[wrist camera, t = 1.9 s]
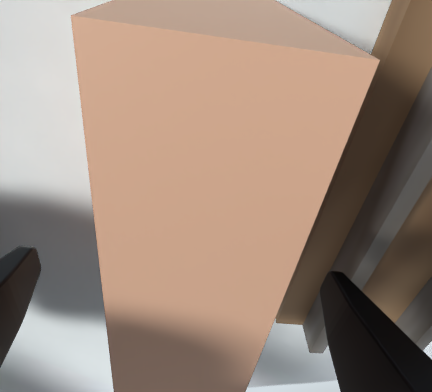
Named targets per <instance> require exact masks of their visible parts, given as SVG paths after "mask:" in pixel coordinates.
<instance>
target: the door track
mask: <svg viewBox="0 0 432 392" xmlns="http://www.w3.org/2000/svg"><path fill="white" fill-rule="evenodd" d="M371 55H372V56H374V57H375V58H377V59H379V60H380V61H379V64H378V66H377V69H376V71H375V74H374V76H373V79H372V81H371V84H370V86H369V88H368V91H367V93H366V96H365V98H364V101H363V103H362V106H361V108H360V111H359V113H358V116H357V118H356V120H355V123H354V125H353V128H352V130H351V133H350V135H349V138H348V140H347V143H346V145H345V148H344V150H343V152H342V155H341V157H340V160H339V162H338V165H337V167H336V170H335V172H334V175H333V177H332V180H331V182H330V184H329V187H328V189H327V192H326V194H325V197H324V199H323V202H322V204H321V207H320V209H319V212H318V214H317V216H316V219H315V221H314V224H313V226H312V229H311V231H310V234H309V236H308V239H307V241H306V244H305V246H304V248H303V251H302V253H301V256H300V258H299V261H298V263H297V266H296V268H295V271H294V273H293V276H292V278H291V280H290V283H289V285H288V288H287V290H286V293H285V295H284V298H283V300H282V303H281V305H280V308H279V310H278V312H277V315H276V317H275V318H276V323H284V324H298V325H303V329H304V333H305V336H306V340H307V344H308V348H309V352H310V353H323V352H324V350H325V349H326V347H327V345H328V342H327V337H326V331H325V325H324V318H323V311H322V305H321V298H320V287H321V285H322V283H323V281H324V279H325V277H326V275H327V273H328V272H329V271H340V272H343V273H344V274H345V275H346V276H347V277H348V278H349V279H350V280H351V281H352V282H353V283H354V284H355V285H356V286H357V287H358V288H359V289H360V290H361V291H362V292H363V293H364V294H365V295H366V296H367V297H368V298H370V299H371V300H372V301H373V302H374V303H375V304H376V305H377V306H378V307H379V308H380V309H381V310H382V311H383V312H384V313H385V314H386V315H387V316H388V317H389V318H390V319H391V320H392V321H393V322H394V323H395V324H396V325H397V326H398V327H399V328H400V329H401V330H402V331H403V332H404V333H405V334H406V335H407V336H408V337H409V338H410V339H411V340H412V341H413V342H414V343H415V344H416V345H417V346H418V347H419V348H420V349H421V350H422V351H423V350H424V349H425V347H426V346H427V345H428V344H429V343H430V342H431V341H432V0H392V2H391V4H390V7H389V9H388V12H387V14H386V17H385V20H384V22H383V25H382V27H381V30H380V33H379V35H378V38H377V40H376V43H375V45H374V48H373V51H372V53H371Z"/></svg>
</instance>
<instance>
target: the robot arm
mask: <svg viewBox="0 0 432 392" xmlns="http://www.w3.org/2000/svg"><path fill="white" fill-rule="evenodd" d="M40 271H41V264H40V260H39V257H38V253H37V250H36V248H35V247H31V246H19V247H17V248H16V249H14V250H13V251H11V252H10V253H8V254H7V255H5V256H4V257H2V258H1V259H0V368H1V365H2V363H3V361H4V359H5V357H6V355H7V353H8V351H9V349H10V347H11V345H12V343H13V341H14V339H15V337H16V335H17V333H18V331H19V328H20V326H21V324H22V322H23V319H24V317H25V314H26V311H27V309H28V306H29V303H30V300H31V297H32V295H33V292H34V289H35V286H36V283H37V280H38V278H39V275H40ZM320 298H321V305H322V311H323V318H324V325H325V331H326V337H327V342H328V346H329V350H330V353H331V357H332V361H333V365H334V368H335V372H336V376H337V380H338V383H339V387H340V391H341V392H432V359H431V358H429V357H428V356H427V355H426V354H425V353H424V352H423V351H422V350H421V349H420V348H419V347H418V346H417V345H416V344H415V343H414V342H413V341H412V340H411V339H410V338H409V337H408V336H407V335H406V334H405V333H404V332H403V331H402V330H401V329H400V328H399V327H398V326H397V325H396V324H395V323H394V322H393V321H392V320H391V319H390V318H389V317H388V316H387V315H386V314H385V313H384V312H383V311H382V310H381V309H380V308H379V307H378V306H377V305H376V304H375V303H374V302H373V301H372V300H371V299H370V298H368V297H367V296H366V295H365V294H364V293H363V292H362V291H361V290H360V289H359V288H358V287H357V286H356V285H355V284H354V283H353V282H352V281H351V280H350V279H349V278H348V277H347V276H346V275H345V274H344V273H343V272H340V271H329V272H328V273H327V275H326V277H325V279H324V281H323V283H322V285H321V287H320Z"/></svg>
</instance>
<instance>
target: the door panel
mask: <svg viewBox="0 0 432 392" xmlns="http://www.w3.org/2000/svg"><path fill="white" fill-rule="evenodd" d="M71 21H72V30H73V38H74V47H75V56H76V65H77V73H78V82H79V91H80V100H81V108H82V117H83V126H84V135H85V143H86V152H87V161H88V170H89V178H90V187H91V196H92V204H93V213H94V222H95V231H96V239H97V248H98V257H99V266H100V274H101V283H102V292H103V301H104V309H105V318H106V327H107V336H108V344H109V353H110V362H111V371H112V379H113V388H114V392H245V391H246V389H247V386H248V384H249V381H250V379H251V376H252V374H253V372H254V369H255V367H256V364H257V362H258V359H259V357H260V354H261V352H262V349H263V347H264V344H265V342H266V340H267V337H268V335H269V332H270V330H271V327H272V325H273V322H274V320H275V317H276V315H277V312H278V310H279V308H280V305H281V303H282V300H283V298H284V295H285V293H286V290H287V288H288V285H289V283H290V280H291V278H292V276H293V273H294V271H295V268H296V266H297V263H298V261H299V258H300V256H301V253H302V251H303V248H304V246H305V244H306V241H307V239H308V236H309V234H310V231H311V229H312V226H313V224H314V221H315V219H316V216H317V214H318V212H319V209H320V207H321V204H322V202H323V199H324V197H325V194H326V192H327V189H328V187H329V184H330V182H331V180H332V177H333V175H334V172H335V170H336V167H337V165H338V162H339V160H340V157H341V155H342V152H343V150H344V148H345V145H346V143H347V140H348V138H349V135H350V133H351V130H352V128H353V125H354V123H355V120H356V118H357V116H358V113H359V111H360V108H361V106H362V103H363V101H364V98H365V96H366V93H367V91H368V88H369V86H370V84H371V81H372V79H373V76H374V74H375V71H376V69H377V66H378V64H379V61H380V60H379V59H377V58H375V57H374V56H372V55H370V54H368V53H367V52H365V51H363V50H361V49H360V48H358V47H356V46H354V45H353V44H351V43H349V42H347V41H346V40H344V39H342V38H340V37H338V36H337V35H335V34H333V33H331V32H330V31H328V30H326V29H324V28H323V27H321V26H319V25H317V24H316V23H314V22H312V21H310V20H309V19H307V18H305V17H303V16H301V15H300V14H298V13H296V12H294V11H293V10H291V9H289V8H287V7H286V6H284V5H282V4H280V3H279V2H277V1H275V0H112V1H110V2H107V3H104V4H101V5H98V6H96V7H93V8H90V9H87V10H85V11H82V12H79V13H76V14H74V15H71Z"/></svg>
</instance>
